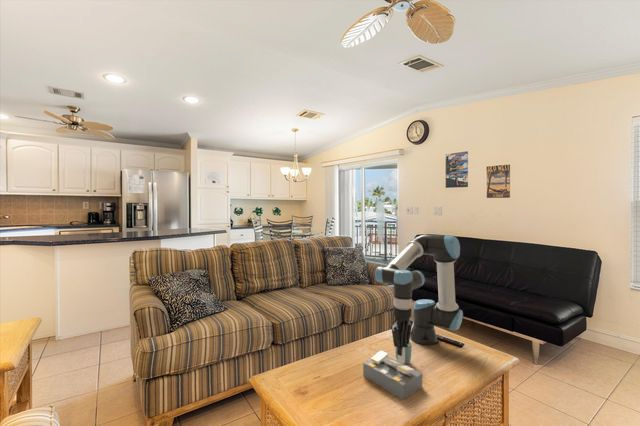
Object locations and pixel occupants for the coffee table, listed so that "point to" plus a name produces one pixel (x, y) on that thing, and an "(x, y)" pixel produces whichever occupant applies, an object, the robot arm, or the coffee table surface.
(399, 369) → the block
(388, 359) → the rocker
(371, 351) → the coffee table surface
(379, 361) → the rocker
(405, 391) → the console
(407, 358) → the cup
